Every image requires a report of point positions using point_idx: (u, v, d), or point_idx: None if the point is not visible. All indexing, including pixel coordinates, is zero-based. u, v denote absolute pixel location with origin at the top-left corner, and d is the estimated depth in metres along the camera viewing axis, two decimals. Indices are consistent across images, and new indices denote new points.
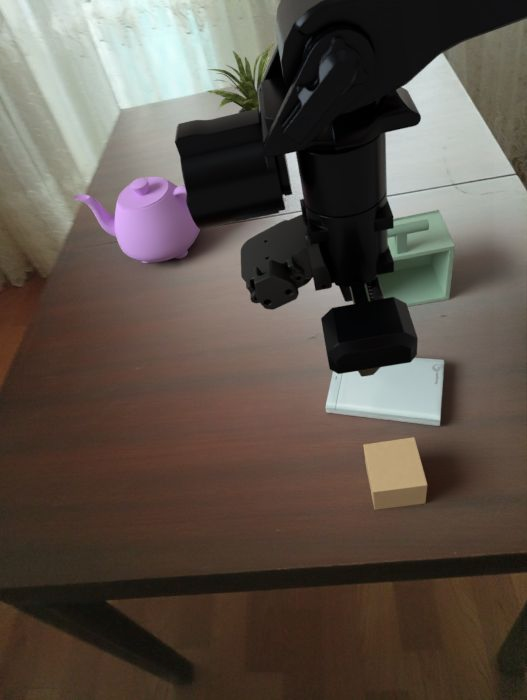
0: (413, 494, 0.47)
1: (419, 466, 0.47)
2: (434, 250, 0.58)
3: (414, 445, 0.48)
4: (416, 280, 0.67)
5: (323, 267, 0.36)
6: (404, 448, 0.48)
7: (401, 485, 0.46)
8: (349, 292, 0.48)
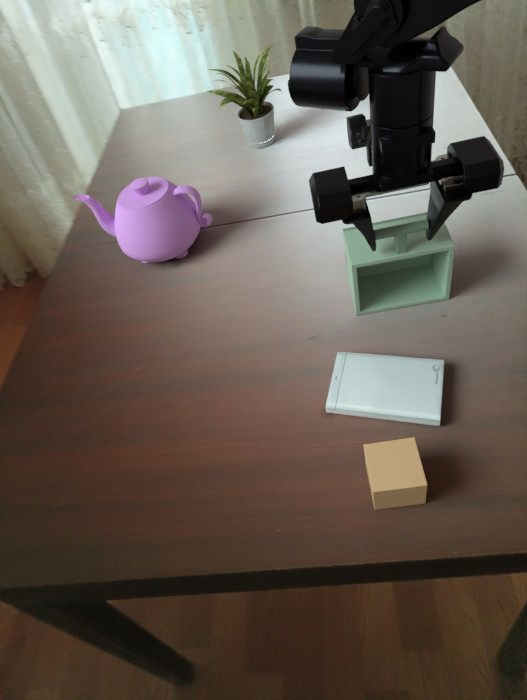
0: (413, 494, 0.47)
1: (419, 466, 0.47)
2: (434, 250, 0.58)
3: (414, 445, 0.48)
4: (416, 280, 0.67)
5: (367, 146, 0.51)
6: (404, 448, 0.48)
7: (401, 485, 0.46)
8: None
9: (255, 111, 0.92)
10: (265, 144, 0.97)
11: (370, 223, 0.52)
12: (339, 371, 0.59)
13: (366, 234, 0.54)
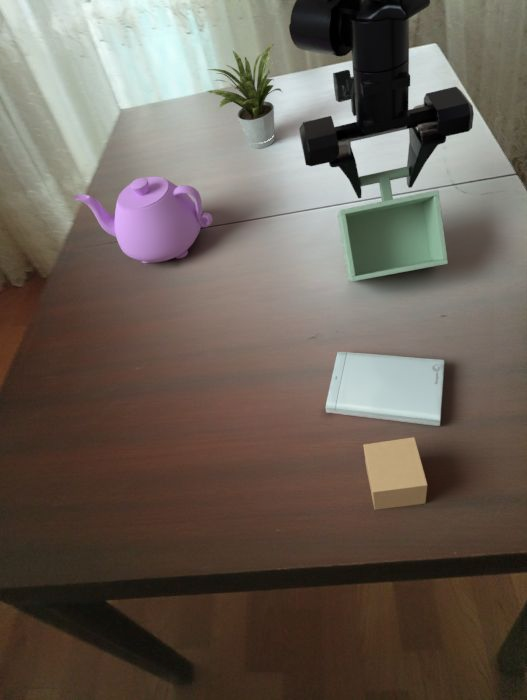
0: (413, 494, 0.47)
1: (419, 466, 0.47)
2: (419, 194, 0.61)
3: (414, 445, 0.48)
4: (414, 263, 0.66)
5: (351, 96, 0.57)
6: (404, 448, 0.48)
7: (401, 485, 0.46)
8: (407, 177, 0.62)
9: (255, 111, 0.92)
10: (265, 144, 0.97)
11: (355, 166, 0.58)
12: (339, 371, 0.59)
13: (351, 179, 0.60)
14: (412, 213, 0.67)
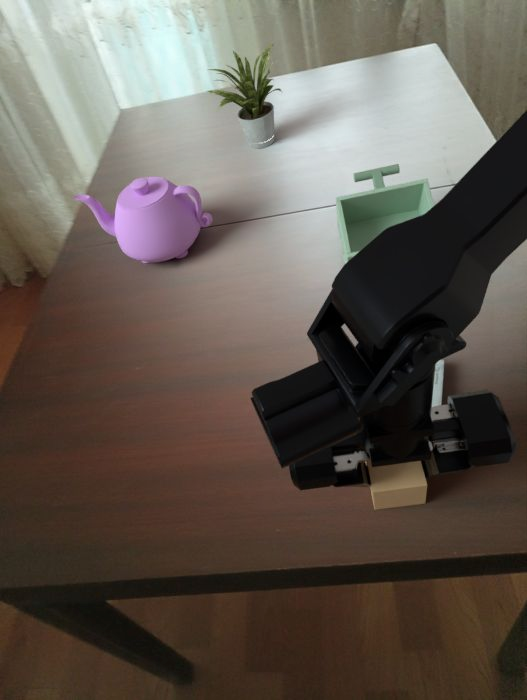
0: (413, 494, 0.47)
1: (419, 466, 0.47)
2: (409, 182, 0.65)
3: None
4: None
5: None
6: None
7: (401, 485, 0.46)
8: None
9: (255, 111, 0.92)
10: (265, 144, 0.97)
11: (363, 484, 0.44)
12: None
13: (359, 486, 0.46)
14: (408, 219, 0.70)
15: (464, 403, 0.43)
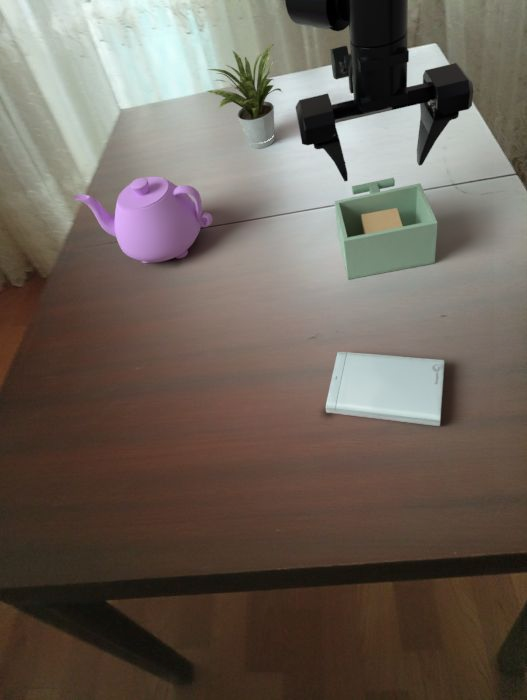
0: None
1: (399, 221, 0.68)
2: (403, 187, 0.69)
3: (396, 211, 0.69)
4: None
5: (349, 72, 0.55)
6: (389, 213, 0.69)
7: None
8: (418, 154, 0.61)
9: (255, 111, 0.92)
10: (265, 144, 0.97)
11: (339, 148, 0.57)
12: (340, 371, 0.59)
13: (337, 161, 0.59)
14: None
15: (434, 70, 0.55)
